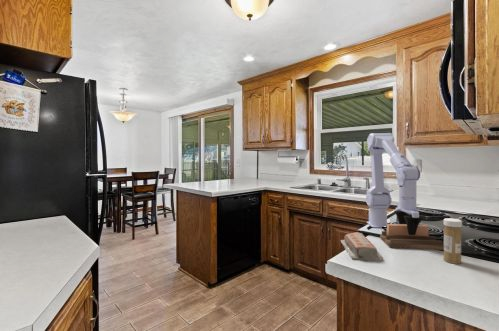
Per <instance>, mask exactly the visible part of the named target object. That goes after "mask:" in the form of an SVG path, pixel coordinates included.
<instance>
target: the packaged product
mask: <svg viewBox="0 0 499 331" xmlns="http://www.w3.org/2000/svg"><path fill="white" fill-rule="evenodd" d="M343 238H344V239H340V242H341V244H342V245H343V248H344V249H345V251H346V252H347V254H348V253H349V254H348V255H349V257H350V258H351V260H353V261H381V262H382V261H383V260H384V256H383V255H382V254H381V253H380V252H379V251H378V250H377V248H376V246H375V245H374V244H373V243H372V242H371V241H370V239H368V238H367V237H366V236H365V235H364V234H363V233H362V232H359V231H358V232H357V231H356V232H355V231H354V232H350V233H347V234H345V235H344V237H343ZM348 248H349V249H348Z"/></svg>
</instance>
